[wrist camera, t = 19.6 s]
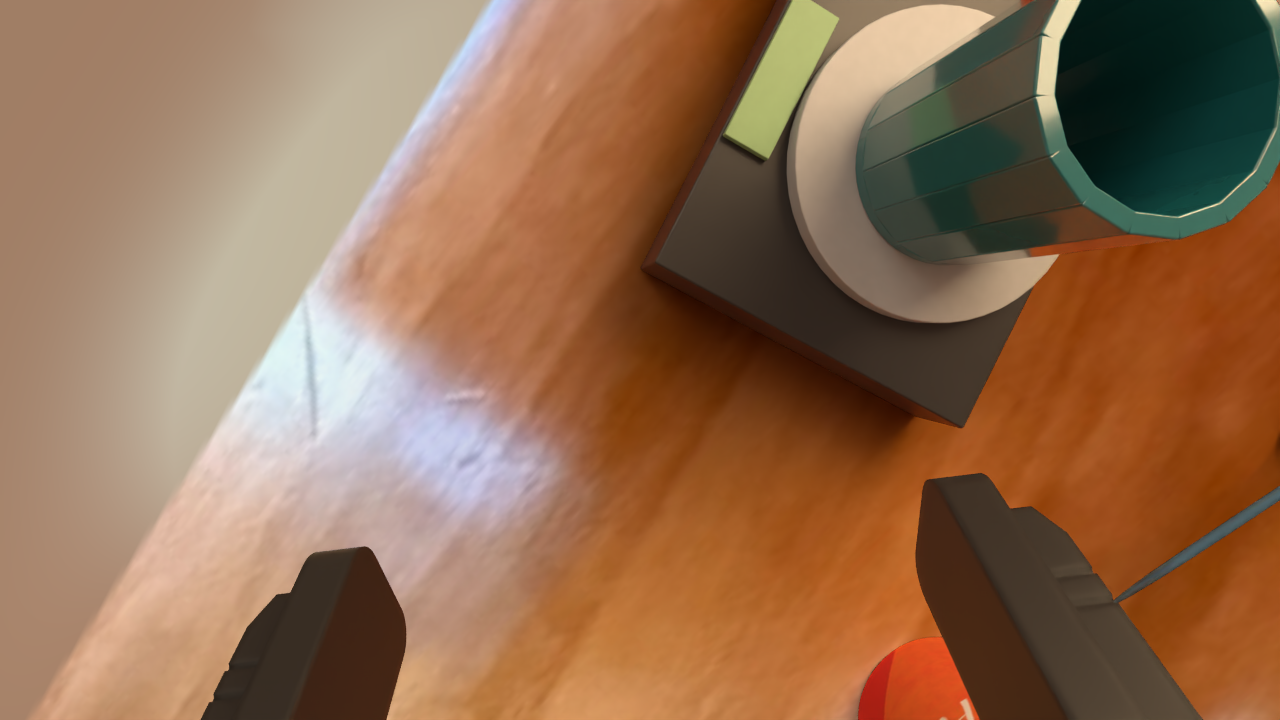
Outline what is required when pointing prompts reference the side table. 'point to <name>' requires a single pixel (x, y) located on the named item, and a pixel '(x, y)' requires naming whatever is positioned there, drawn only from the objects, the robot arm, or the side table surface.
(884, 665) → the coffee cup
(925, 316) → the scale
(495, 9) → the side table surface
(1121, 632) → the robot arm
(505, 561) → the side table surface
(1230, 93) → the teal open tube
